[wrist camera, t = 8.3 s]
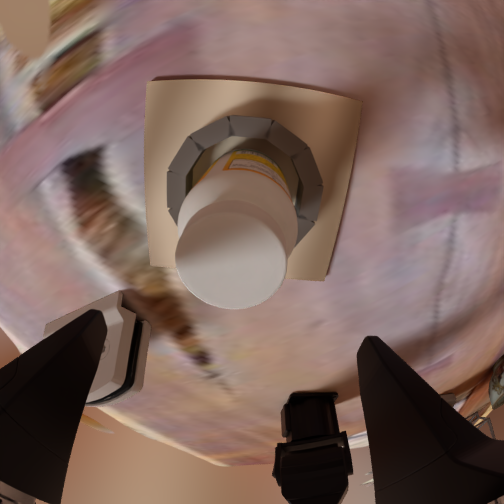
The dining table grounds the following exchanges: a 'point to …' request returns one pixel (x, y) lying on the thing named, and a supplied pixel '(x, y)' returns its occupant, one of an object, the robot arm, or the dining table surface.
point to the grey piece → (114, 351)
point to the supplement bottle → (236, 231)
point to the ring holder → (256, 138)
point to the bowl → (497, 384)
